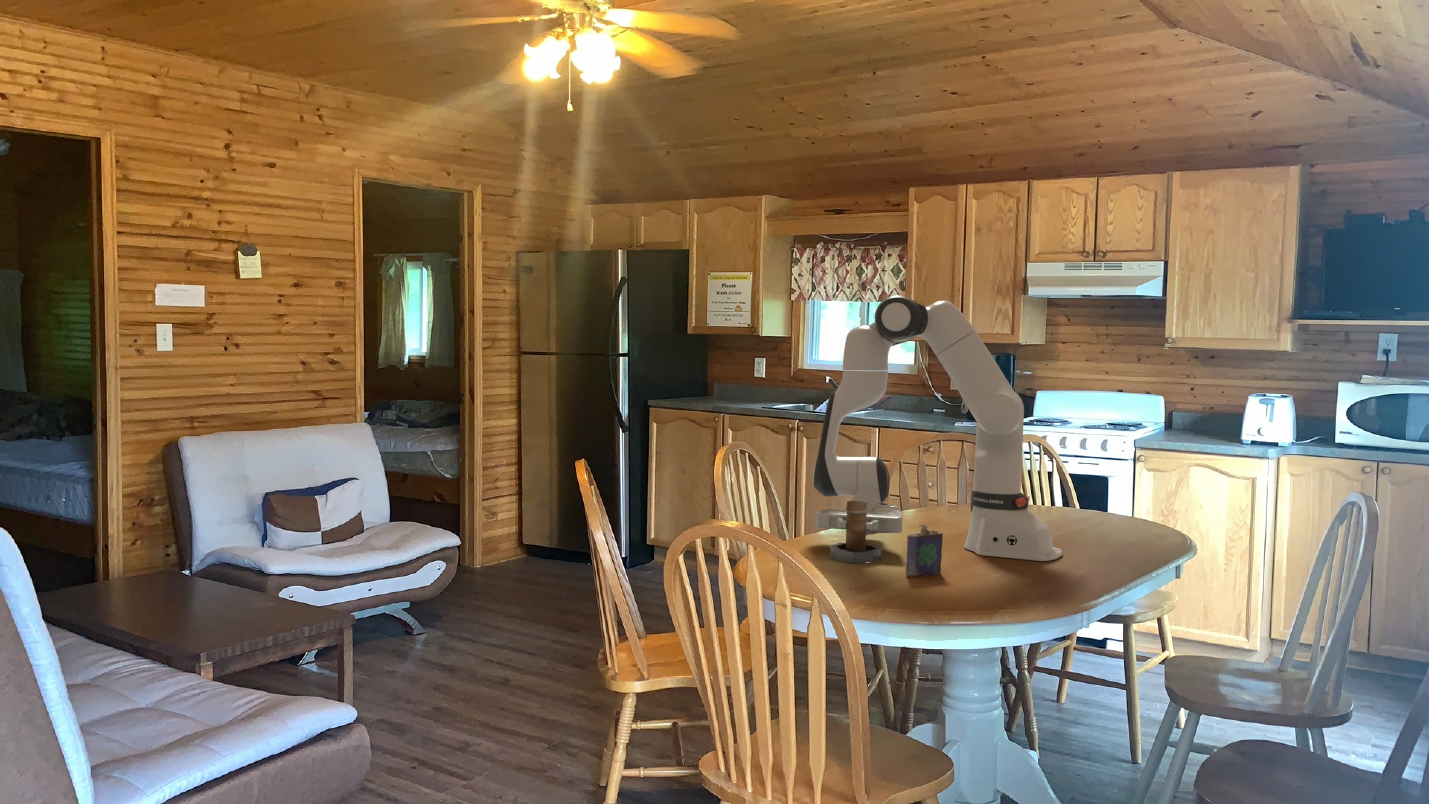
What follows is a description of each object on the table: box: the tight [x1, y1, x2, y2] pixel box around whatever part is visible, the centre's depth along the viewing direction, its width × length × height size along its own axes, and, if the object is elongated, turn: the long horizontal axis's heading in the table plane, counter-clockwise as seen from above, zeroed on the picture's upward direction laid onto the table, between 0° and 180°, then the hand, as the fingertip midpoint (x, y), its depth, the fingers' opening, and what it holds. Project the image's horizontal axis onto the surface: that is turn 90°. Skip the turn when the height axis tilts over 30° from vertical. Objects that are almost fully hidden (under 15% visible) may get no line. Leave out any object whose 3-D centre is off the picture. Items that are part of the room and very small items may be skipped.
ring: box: [829, 542, 882, 564], centre depth 244 cm, size 11×11×2 cm
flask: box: [905, 524, 944, 578], centre depth 228 cm, size 9×3×11 cm, turn 121°
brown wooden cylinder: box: [845, 500, 867, 551], centre depth 243 cm, size 5×5×12 cm
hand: (855, 526), depth 242 cm, fingers closed on brown wooden cylinder, 4 cm apart
